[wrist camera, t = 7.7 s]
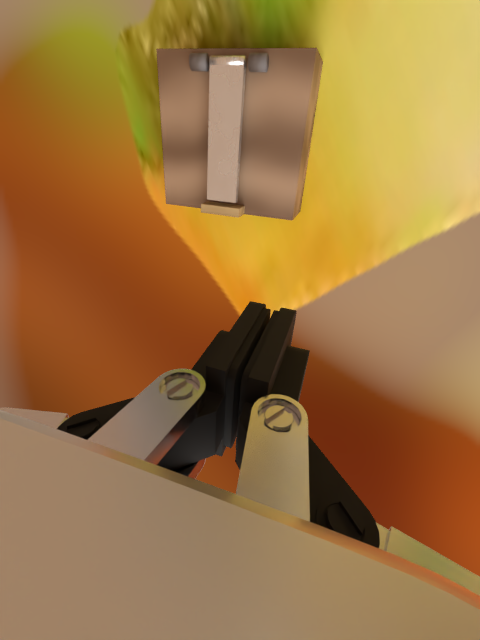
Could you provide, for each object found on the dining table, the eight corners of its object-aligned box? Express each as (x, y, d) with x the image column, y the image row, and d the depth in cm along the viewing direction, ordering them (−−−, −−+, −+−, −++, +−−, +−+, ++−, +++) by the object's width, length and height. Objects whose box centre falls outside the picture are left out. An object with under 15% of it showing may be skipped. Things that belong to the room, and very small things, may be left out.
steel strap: (213, 57, 26) (209, 54, 25) (247, 57, 25) (244, 54, 25) (209, 198, 31) (206, 199, 31) (237, 202, 31) (235, 203, 30)
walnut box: (183, 61, 31) (144, 43, 26) (322, 61, 28) (313, 41, 22) (186, 197, 38) (157, 206, 32) (300, 211, 35) (289, 224, 29)
